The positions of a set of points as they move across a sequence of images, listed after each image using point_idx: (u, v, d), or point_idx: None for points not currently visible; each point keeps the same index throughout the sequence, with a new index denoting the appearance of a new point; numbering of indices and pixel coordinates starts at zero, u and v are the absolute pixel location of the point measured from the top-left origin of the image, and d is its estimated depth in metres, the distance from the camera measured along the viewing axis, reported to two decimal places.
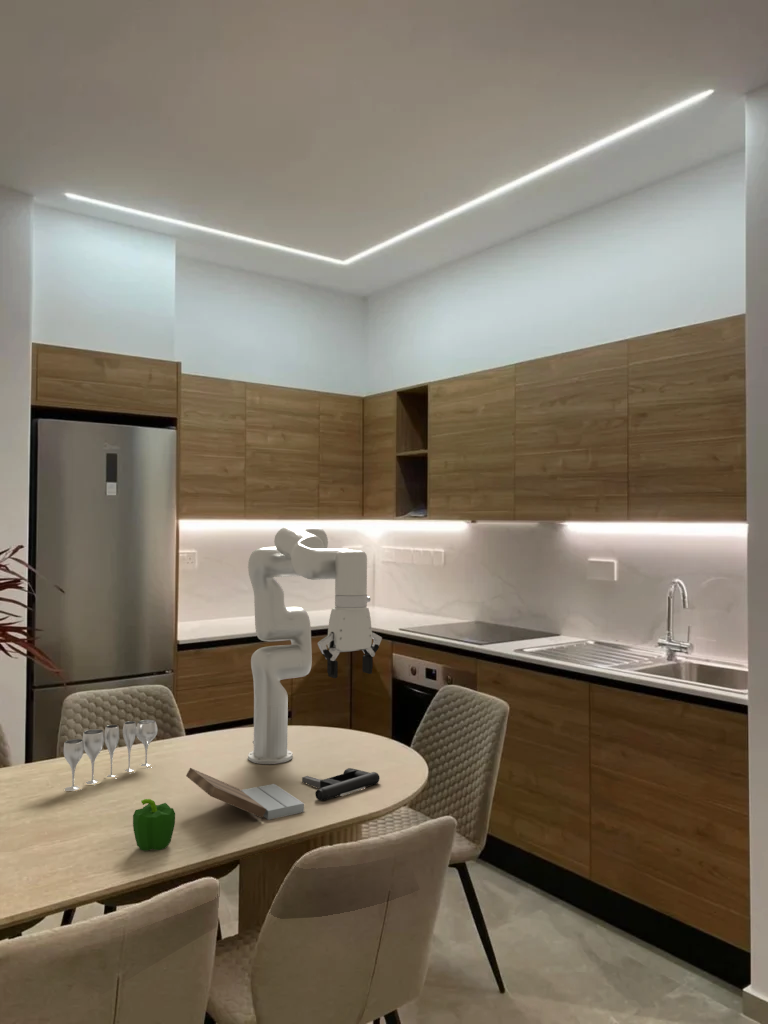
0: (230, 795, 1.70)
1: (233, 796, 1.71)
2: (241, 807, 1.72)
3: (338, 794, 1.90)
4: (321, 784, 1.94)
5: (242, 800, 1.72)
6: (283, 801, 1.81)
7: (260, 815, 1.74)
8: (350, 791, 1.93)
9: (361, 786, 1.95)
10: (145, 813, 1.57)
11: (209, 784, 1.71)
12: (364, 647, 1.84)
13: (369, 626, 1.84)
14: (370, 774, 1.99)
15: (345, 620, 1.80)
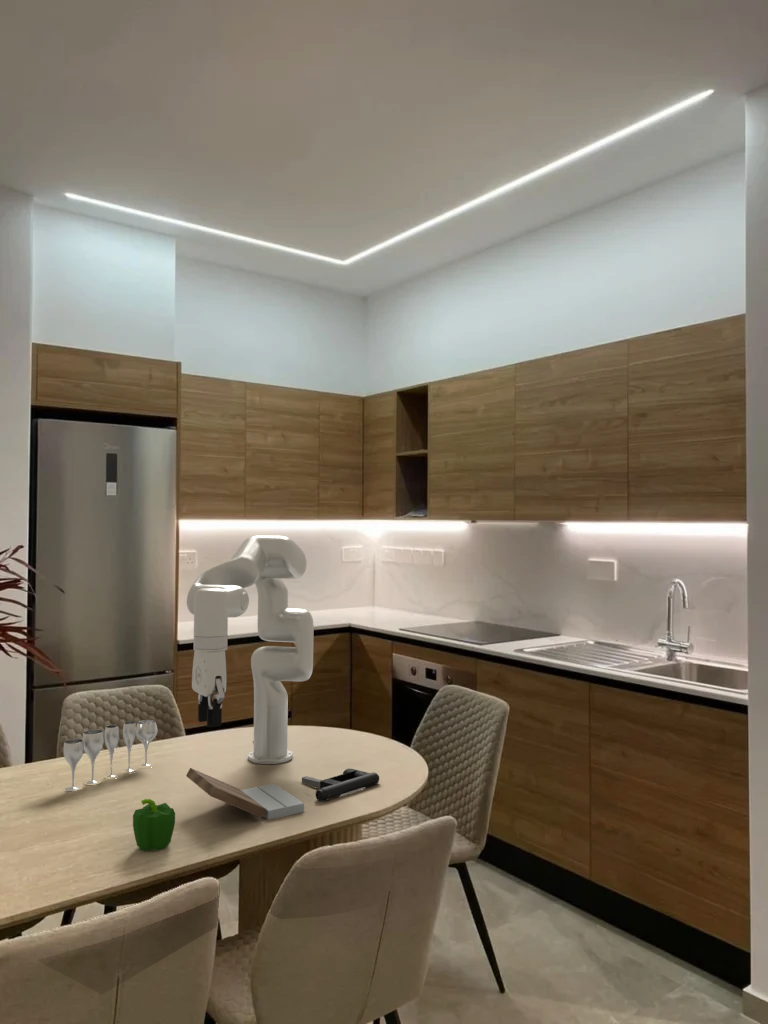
0: (230, 795, 1.70)
1: (233, 796, 1.71)
2: (241, 807, 1.72)
3: (338, 794, 1.90)
4: (321, 785, 1.94)
5: (242, 800, 1.72)
6: (283, 801, 1.81)
7: (260, 815, 1.74)
8: (350, 791, 1.93)
9: (361, 786, 1.95)
10: (145, 813, 1.57)
11: (209, 784, 1.71)
12: None
13: None
14: (370, 774, 1.99)
15: None
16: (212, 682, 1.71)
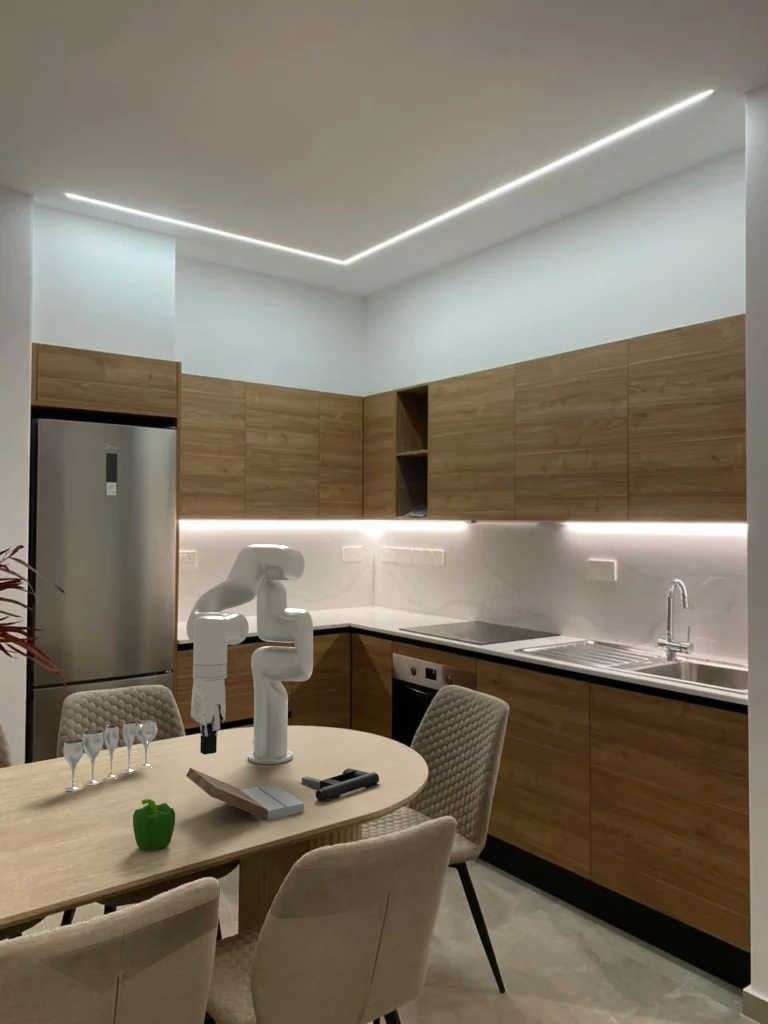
0: (230, 795, 1.70)
1: (233, 796, 1.71)
2: (241, 807, 1.72)
3: (338, 794, 1.90)
4: (321, 785, 1.94)
5: (242, 800, 1.72)
6: (283, 801, 1.81)
7: (260, 815, 1.74)
8: (350, 791, 1.92)
9: (361, 786, 1.95)
10: (145, 813, 1.57)
11: (209, 784, 1.71)
12: None
13: None
14: (370, 774, 1.99)
15: None
16: (211, 711, 1.71)
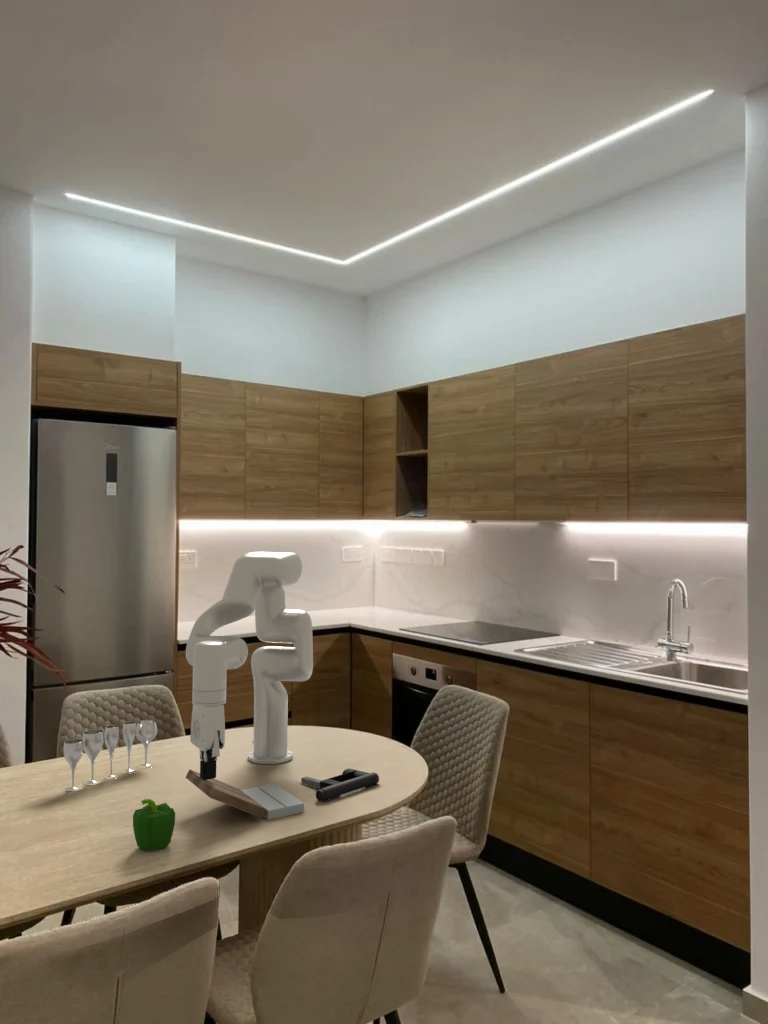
0: (229, 796, 1.70)
1: (233, 797, 1.70)
2: (241, 808, 1.71)
3: (338, 795, 1.90)
4: (321, 785, 1.94)
5: (242, 801, 1.72)
6: (283, 801, 1.81)
7: (260, 815, 1.74)
8: (350, 791, 1.92)
9: (361, 786, 1.95)
10: (145, 813, 1.57)
11: (208, 786, 1.71)
12: None
13: None
14: (370, 774, 1.99)
15: None
16: (211, 737, 1.71)
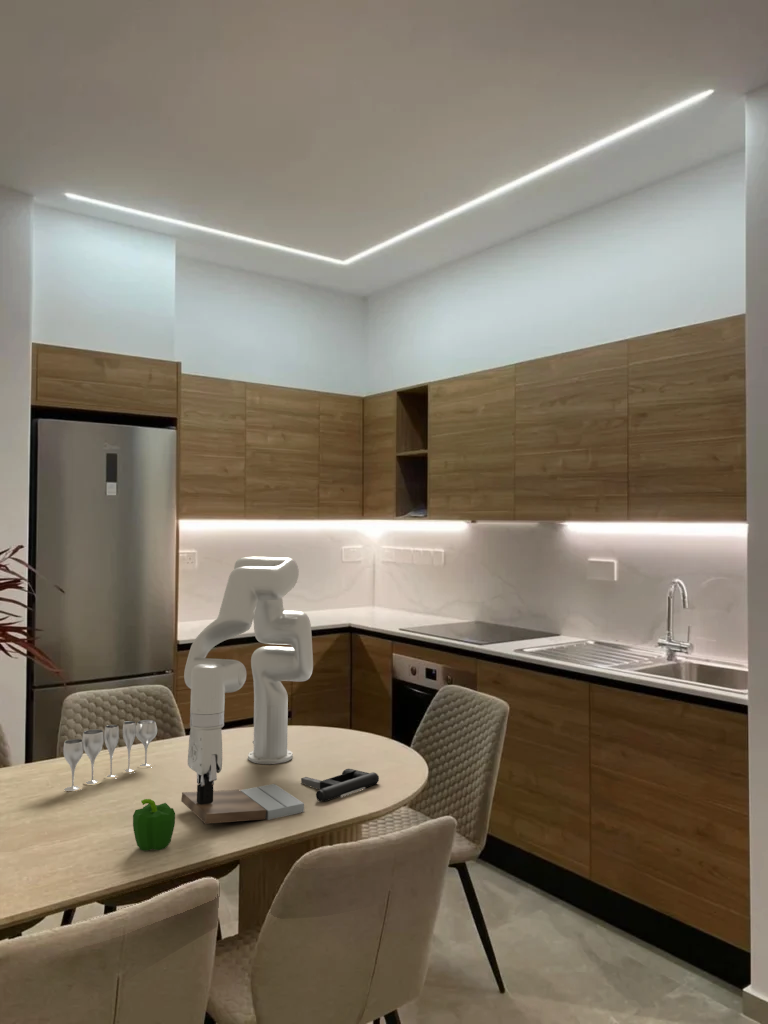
0: (225, 814, 1.69)
1: (228, 813, 1.70)
2: (240, 819, 1.71)
3: (338, 795, 1.89)
4: (321, 785, 1.94)
5: (239, 813, 1.71)
6: (283, 801, 1.81)
7: (262, 818, 1.74)
8: (350, 791, 1.92)
9: (361, 786, 1.95)
10: (145, 813, 1.57)
11: (201, 810, 1.70)
12: None
13: None
14: (369, 774, 1.99)
15: None
16: (208, 761, 1.70)
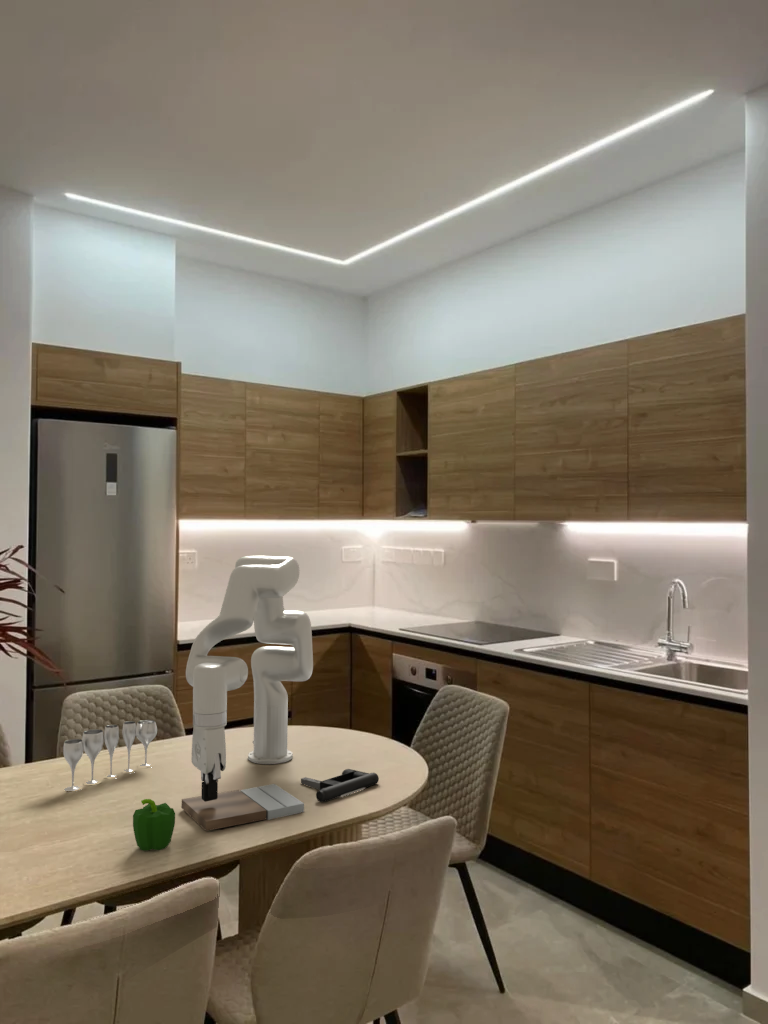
0: (224, 819, 1.69)
1: (228, 818, 1.70)
2: (241, 822, 1.71)
3: (339, 795, 1.89)
4: (321, 786, 1.94)
5: (238, 816, 1.71)
6: (283, 801, 1.81)
7: (263, 818, 1.74)
8: (350, 791, 1.92)
9: (361, 787, 1.95)
10: (145, 813, 1.57)
11: (201, 818, 1.70)
12: None
13: None
14: (369, 775, 1.98)
15: None
16: (212, 760, 1.71)
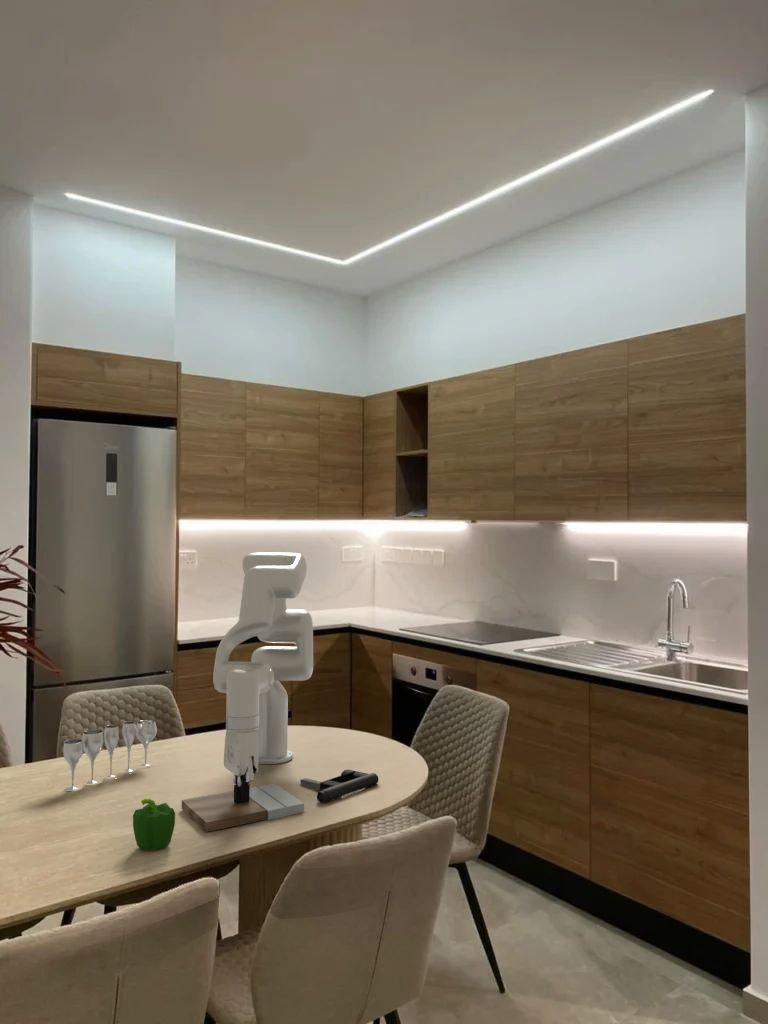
0: (224, 820, 1.69)
1: (228, 819, 1.70)
2: (241, 823, 1.71)
3: (339, 796, 1.89)
4: (321, 786, 1.93)
5: (238, 817, 1.71)
6: (283, 801, 1.81)
7: (263, 818, 1.74)
8: (350, 792, 1.92)
9: (361, 787, 1.95)
10: (145, 813, 1.57)
11: (201, 819, 1.70)
12: None
13: None
14: (369, 775, 1.98)
15: None
16: (245, 762, 1.75)
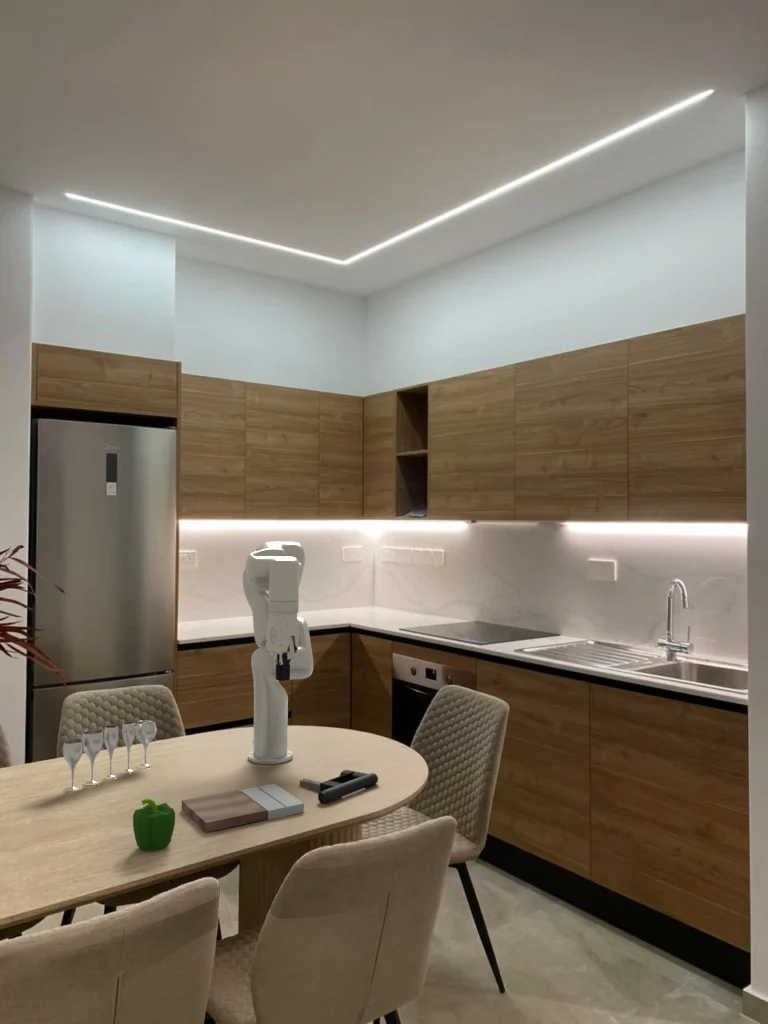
0: (224, 820, 1.69)
1: (228, 819, 1.70)
2: (241, 823, 1.71)
3: (340, 796, 1.88)
4: (322, 787, 1.92)
5: (238, 817, 1.71)
6: (283, 801, 1.81)
7: (263, 818, 1.74)
8: (351, 792, 1.91)
9: (361, 787, 1.94)
10: (145, 813, 1.57)
11: (201, 819, 1.70)
12: None
13: None
14: (369, 775, 1.98)
15: None
16: (287, 641, 1.92)
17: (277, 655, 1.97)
